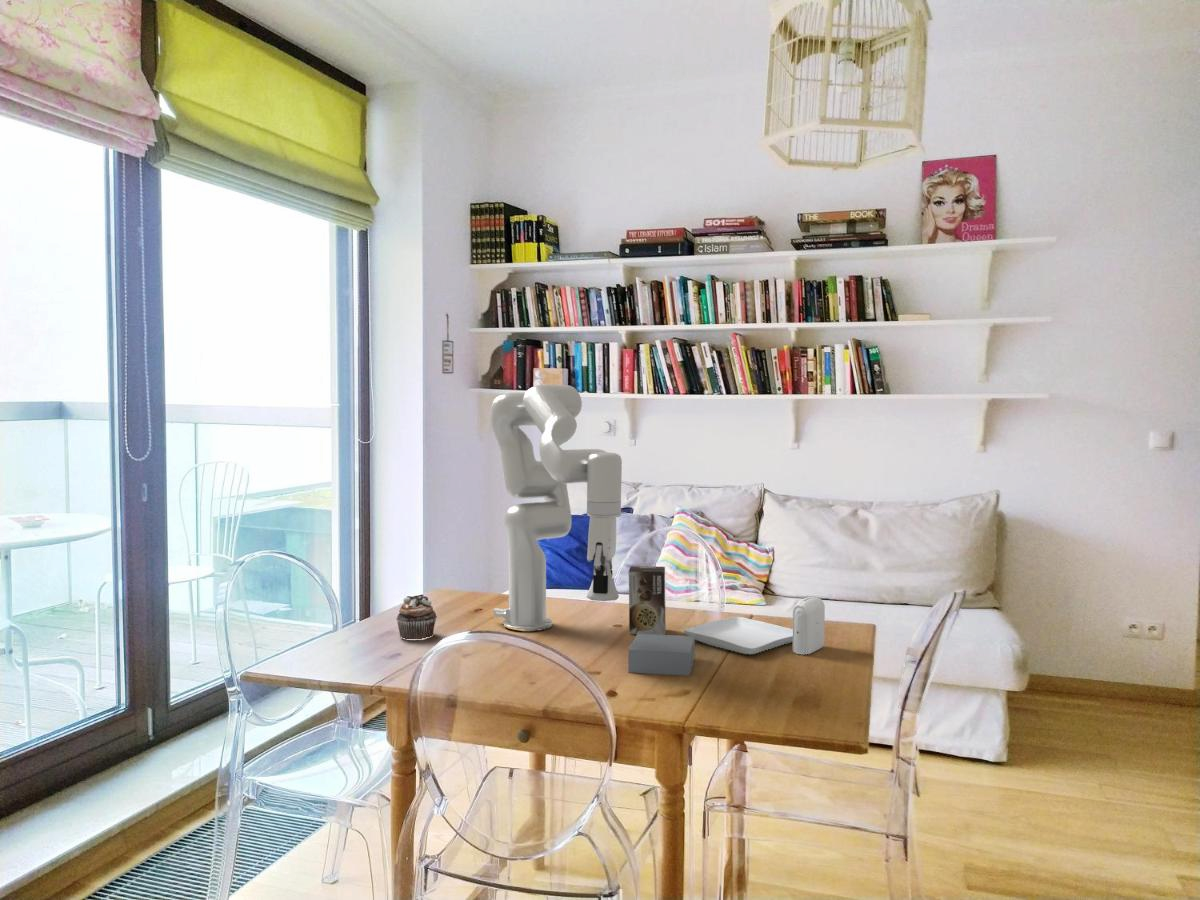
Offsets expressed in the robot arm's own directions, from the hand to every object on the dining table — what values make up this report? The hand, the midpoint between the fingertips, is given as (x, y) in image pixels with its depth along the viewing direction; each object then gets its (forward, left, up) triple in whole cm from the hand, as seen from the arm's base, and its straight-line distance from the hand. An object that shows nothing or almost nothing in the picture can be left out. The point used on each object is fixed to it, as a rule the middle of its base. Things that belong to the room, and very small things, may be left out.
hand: (602, 589), depth 196 cm
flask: (0, 0, -2) cm, 2 cm away
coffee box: (+6, +27, -16) cm, 32 cm away
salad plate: (+30, +22, -17) cm, 41 cm away
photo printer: (+45, +18, -16) cm, 51 cm away
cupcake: (-49, +12, -16) cm, 53 cm away
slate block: (+13, 0, -16) cm, 21 cm away
